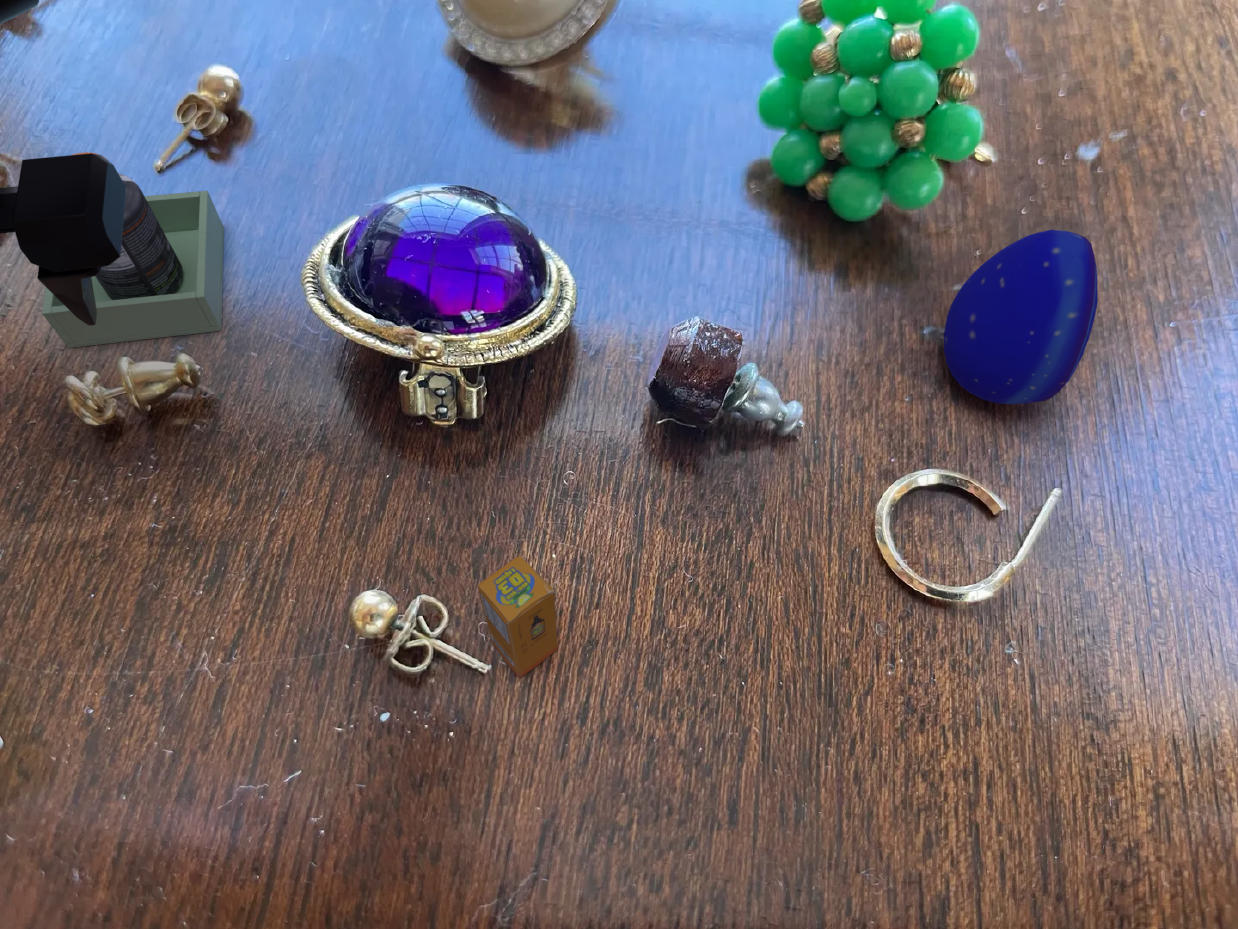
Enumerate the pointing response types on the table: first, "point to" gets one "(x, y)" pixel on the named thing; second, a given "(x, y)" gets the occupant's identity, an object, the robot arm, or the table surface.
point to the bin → (181, 313)
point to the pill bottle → (141, 253)
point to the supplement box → (520, 615)
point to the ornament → (1024, 319)
